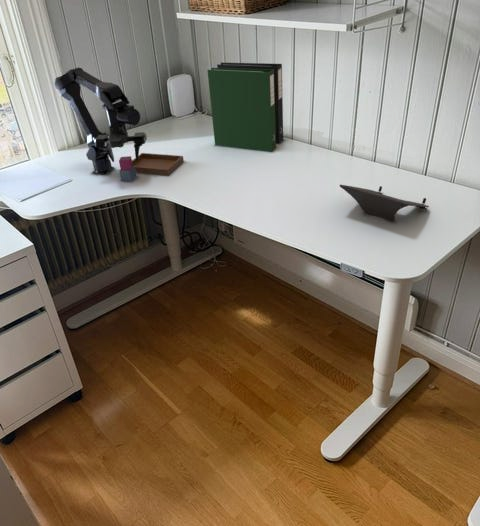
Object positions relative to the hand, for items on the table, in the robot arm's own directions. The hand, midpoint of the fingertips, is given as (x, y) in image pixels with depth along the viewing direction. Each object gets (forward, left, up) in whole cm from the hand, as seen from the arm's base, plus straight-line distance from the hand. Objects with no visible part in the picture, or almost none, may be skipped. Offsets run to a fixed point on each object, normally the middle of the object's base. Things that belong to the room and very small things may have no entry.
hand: (125, 160), depth 188 cm
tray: (+5, +12, -8) cm, 15 cm away
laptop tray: (+99, -6, -8) cm, 100 cm away
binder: (+35, +44, -8) cm, 57 cm away
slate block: (0, 0, -8) cm, 8 cm away
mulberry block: (0, 0, -3) cm, 3 cm away
